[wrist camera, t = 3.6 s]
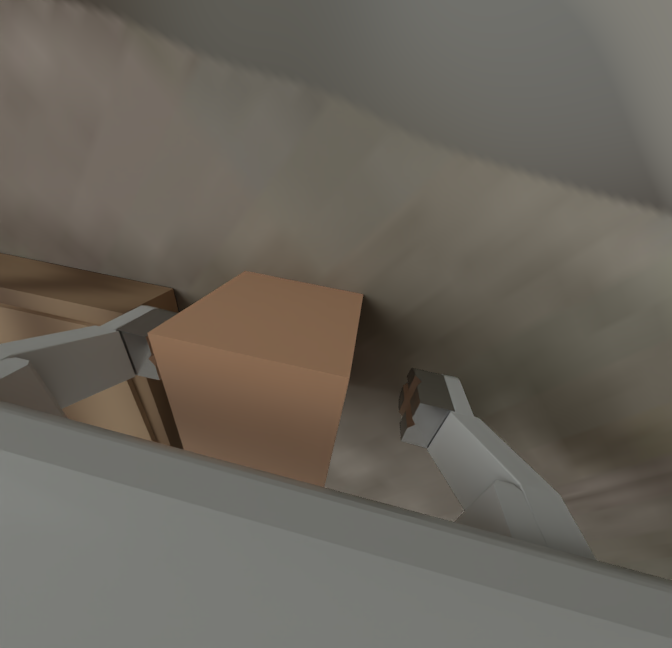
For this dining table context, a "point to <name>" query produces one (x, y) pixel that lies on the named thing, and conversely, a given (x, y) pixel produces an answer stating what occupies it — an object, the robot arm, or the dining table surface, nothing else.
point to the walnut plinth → (84, 311)
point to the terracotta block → (261, 372)
